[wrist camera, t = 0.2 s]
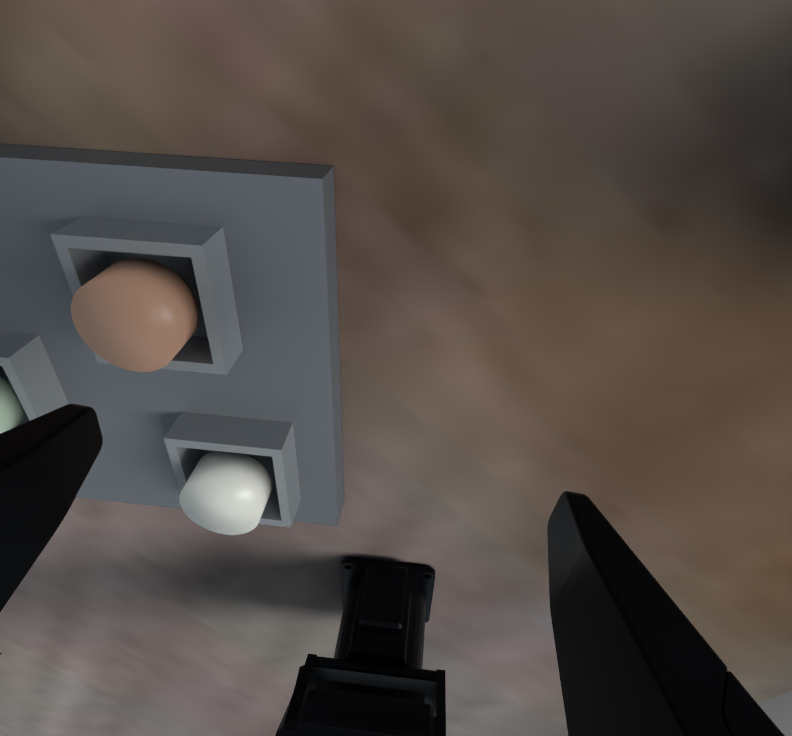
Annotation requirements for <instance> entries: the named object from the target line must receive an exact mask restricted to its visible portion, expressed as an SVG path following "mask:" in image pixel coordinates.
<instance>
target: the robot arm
mask: <svg viewBox="0 0 792 736" xmlns="http://www.w3.org/2000/svg"><path fill="white" fill-rule="evenodd" d="M102 444H103V437H102V433H101V429H100V425H99V421H98V418H97V414H96V411H95V410H94V409H93V408H92V407H90V406H84V405H79V404H67V405H65V406H62V407H60V408H58V409H56V410H53V411H51V412H49V413H46V414H44V415H42V416H40V417H37V418H35V419H33V420H30V421H28V422H26V423H24V424H21V425H19V426H17V427H14V428H12V429H10V430H8V431H5V432H3V433H1V434H0V612H1V610H2V609H3V607H4V606H5V604H6V603H7V601H8V600H9V599H10V597H11V596H12V594H13V593H14V591H15V590H16V588H17V587H18V585H19V584H20V582H21V581H22V580H23V578H24V577H25V575H26V574H27V572H28V571H29V569H30V568H31V566H32V565H33V563H34V562H35V561H36V559H37V558H38V556H39V555H40V553H41V552H42V550H43V549H44V547H45V546H46V544H47V543H48V541H49V540H50V539H51V537H52V536H53V534H54V533H55V531H56V530H57V528H58V527H59V525H60V524H61V522H62V520H63V519H64V517H65V515H66V514H67V512H68V510H69V508H70V507H71V505H72V503H73V501H74V499H75V497H76V495H77V494H78V492H79V490H80V488H81V486H82V484H83V482H84V481H85V479H86V477H87V475H88V473H89V471H90V469H91V468H92V466H93V464H94V462H95V460H96V458H97V456H98V455H99V453H100V451H101V448H102ZM548 562H549V593H550V609H551V618H552V625H553V632H554V639H555V646H556V653H557V660H558V666H559V673H560V680H561V687H562V694H563V701H564V708H565V715H566V721H567V728H568V735H569V736H784V734H783V733H782V732H781V731H780V730H779V729H778V728H777V727H776V725H775V724H774V723H773V722H772V721H771V719H770V718H769V717H768V716H767V715H766V713H765V712H764V711H763V710H762V709H761V707H760V706H759V705H758V704H757V703H756V701H755V700H754V699H753V698H752V697H751V696H750V694H749V693H748V692H747V691H746V689H745V688H744V687H743V686H742V685H741V683H740V682H739V681H738V680H737V678H736V677H735V676H734V675H733V674H732V673H731V672H729V671H727V667H726V665H725V664H724V663H723V662H722V660H721V659H720V658H719V657H718V655H717V654H716V653H715V652H714V651H713V649H712V648H711V647H710V646H709V644H708V643H707V642H706V641H705V639H704V638H703V637H702V636H701V635H700V633H699V632H698V631H697V630H696V628H695V627H694V626H693V625H692V624H691V622H690V621H689V620H688V619H687V617H686V616H685V615H684V614H683V613H682V611H681V610H680V609H679V608H678V606H677V605H676V604H675V603H674V602H673V600H672V599H671V598H670V597H669V595H668V594H667V593H666V592H665V590H664V589H663V588H662V587H661V586H660V584H659V583H658V582H657V581H656V579H655V578H654V577H653V576H652V575H651V573H650V572H649V571H648V570H647V568H646V567H645V566H644V565H643V564H642V562H641V561H640V560H639V559H638V557H637V556H636V555H635V554H634V552H633V551H632V550H631V549H630V548H629V546H628V545H627V544H626V543H625V541H624V540H623V539H622V538H621V537H620V535H619V534H618V533H617V532H616V530H615V529H614V528H613V527H612V526H611V524H610V523H609V522H608V521H607V519H606V518H605V517H604V516H603V515H602V513H601V512H600V511H599V510H598V508H597V507H596V506H595V505H594V503H593V502H592V501H591V500H590V499H589V498H588V497H587V496H586V495H584V494H580V493H575V492H569V491H565V492H563V493H562V494H561V496H560V498H559V500H558V502H557V504H556V506H555V508H554V510H553V512H552V514H551V516H550V518H549V522H548ZM341 580H342V604H343V613H342V618H341V623H340V629H339V634H338V639H337V644H336V649H335V654H334V658H326V657H318V656H317V655H315V654H308V656H307V659H306V662H305V665H303V666H301V667H300V669H299V673H298V677H297V681H296V685H295V689H294V692H293V695H292V698H291V700H290V703H289V705H288V707H287V709H286V712H285V714H284V716H283V719H282V721H281V723H280V725H279V728H278V730H277V733H276V736H446V707H445V670H438V669H437V670H436V671H433V670H425V669H422V665H423V648H424V630H425V622H428V621H429V616H430V609H431V602H432V595H433V588H434V581H435V570H434V569H433V568H431V567H424V566H416V565H407V564H398V563H389V562H381V561H372V560H363V559H354V558H344V559H343V560H342V564H341Z"/></svg>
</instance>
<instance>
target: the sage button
mask: <svg viewBox="0 0 792 736" xmlns="http://www.w3.org/2000/svg"><path fill="white" fill-rule="evenodd" d="M25 413H26V412H25V410H24V408H23V406H22V404H21V402H20V400H19V398H18V396H17V394H16V392H15V390H14V389H13V387H12V386H11V385H10V384H9V383H8V382H7V381H6V380H5V379H3V378H2V377H0V434H1V433H3V432H5V431H8V430H10V429H12V428H14V427H16V426H18V425H19V424H20V423H21V422H22V421H23V419H24V417H25Z"/></svg>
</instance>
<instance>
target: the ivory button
mask: <svg viewBox="0 0 792 736" xmlns="http://www.w3.org/2000/svg"><path fill="white" fill-rule="evenodd" d="M272 486H273V484H272V479H271V476H270V474H269V473H268V471H267V470H266V469H265V467H264V466H263V465H262V464H260V463H259V462H258V461H256V460H255V459H253V458H251V457H250V456H247V455H245V454H241V453H232V452H222V451H213V452H210V453H207V454H206V455H204V456H203V457H202V458H201V459H200V460H199V462H198V463H197V465H196V467H195V469H194V470H193V472H192V474H191V475H190V477H189V479H188V481H187V482H186V484H185V486H184V487H183V489H182V491H181V493H180V496H179V502H180V505H181V508H182V510H183V511H184V513H185V514H186V515H187V516H188V517H189V518H190V519H191V520H192V521H193V522H195V523H196V524H198V525H199V526H201V527H203V528H205V529H207V530H210V531H213V532H216V533H220V534H226V535H239V534H244V533H247V532H250V531H252V530H253V529H254V528H255V527H256V526H257V525H258V523H259V521H260V519H261V516H262V513H263V511H264V508H265V506H266V503H267V501H268V498H269V496H270V493H271V491H272Z"/></svg>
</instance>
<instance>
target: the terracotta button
mask: <svg viewBox="0 0 792 736" xmlns="http://www.w3.org/2000/svg"><path fill="white" fill-rule="evenodd" d="M71 316H72V320H73V323H74V326H75V328H76V330H77V332H78V334H79V335H80V337H81V338H82V339H83V341H84V342H85V343H86V344H87V345H88V347H89V348H90V349H91V350H93V351H94V352H95V353H96V354H97V355H99V356H100V357H101V358H103V359H104V360H106V361H108V362H109V363H111V364H113V365H115V366H118V367H120V368H123V369H126V370H130V371H136V372H151V371H156V370H159V369H161V368H163V367H165V366H166V365H167V364H169V363H170V361H171V360H172V359H173V358H174V357H175V355H176V354H177V353H178V352H179V351H180V350H181V348H182V347H183V346H184V345H185V344H186V342H187V341H188V340H189V339H190V338H191V336H192V335H193V334H194V333H195V331H196V329H197V327H198V324H199V307H198V304H197V301H196V298H195V296H194V294H193V293H192V291H191V289H190V288H189V287H188V285H187V284H186V283H185V282H184V281H183V279H182V278H180V277H179V276H178V275H177V274H176V273H175V272H173V271H172V270H171V269H169V268H167V267H166V266H164V265H162V264H160V263H158V262H155V261H152V260H149V259H145V258H125V259H122V260H119V261H117V262H115V263H114V264H112V265H111V266H110V267H108V268H107V269H105V270H104V271H103V272H101V273H100V274H98V275H97V276H95V277H94V278H93V279H91V280H90V281H88V282H87V283H86V284H84V285H83V286H81V287H80V288H79V289H78V290H77V291H76V293H75V294H74V296H73V299H72V302H71Z"/></svg>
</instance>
